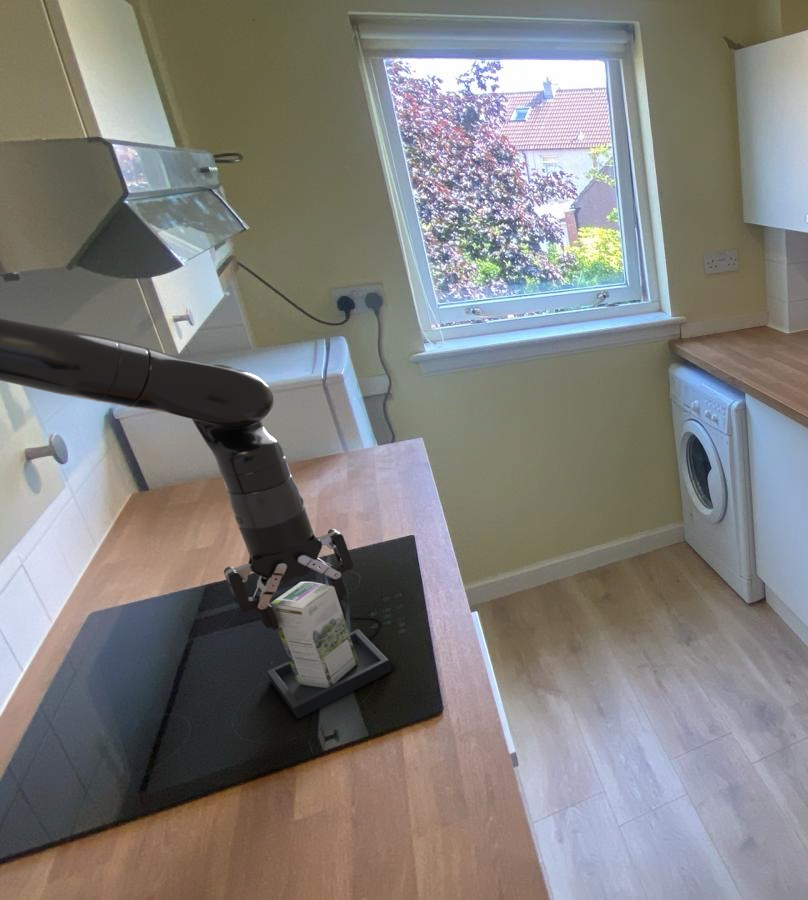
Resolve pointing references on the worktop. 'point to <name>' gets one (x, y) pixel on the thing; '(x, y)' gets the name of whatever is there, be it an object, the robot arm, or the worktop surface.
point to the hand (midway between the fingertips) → (307, 612)
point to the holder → (313, 698)
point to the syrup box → (314, 634)
